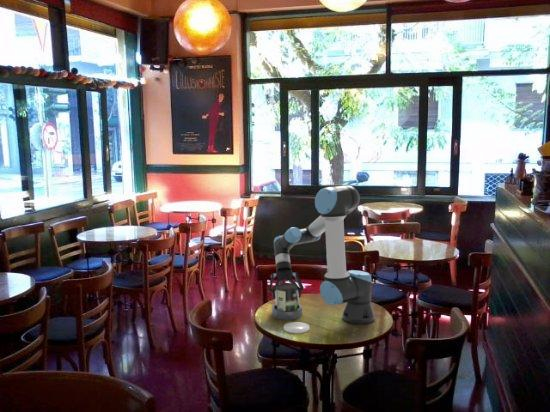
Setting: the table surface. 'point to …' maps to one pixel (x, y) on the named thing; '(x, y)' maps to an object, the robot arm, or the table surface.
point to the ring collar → (287, 313)
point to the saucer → (296, 327)
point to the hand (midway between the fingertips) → (287, 303)
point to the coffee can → (286, 297)
